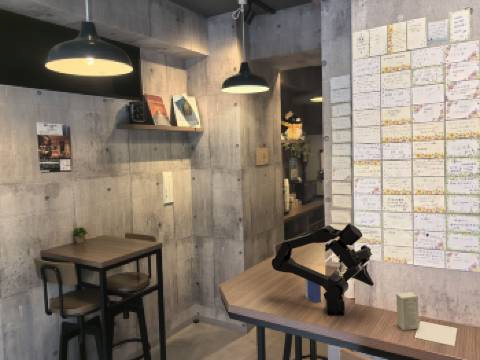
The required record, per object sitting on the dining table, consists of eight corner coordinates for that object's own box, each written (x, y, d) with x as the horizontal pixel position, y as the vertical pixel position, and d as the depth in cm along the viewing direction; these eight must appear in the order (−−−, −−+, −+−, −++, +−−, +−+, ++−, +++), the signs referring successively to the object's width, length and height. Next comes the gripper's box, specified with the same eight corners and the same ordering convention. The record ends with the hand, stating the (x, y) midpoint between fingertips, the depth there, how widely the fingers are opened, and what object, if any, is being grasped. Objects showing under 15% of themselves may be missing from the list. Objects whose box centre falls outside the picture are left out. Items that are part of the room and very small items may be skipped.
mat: (414, 337, 134) (414, 337, 134) (420, 321, 146) (420, 321, 146) (454, 346, 128) (454, 345, 128) (457, 328, 139) (457, 328, 139)
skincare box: (413, 323, 144) (412, 291, 143) (419, 329, 139) (418, 296, 138) (396, 324, 144) (395, 292, 143) (402, 330, 139) (401, 297, 138)
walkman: (321, 301, 167) (320, 274, 166) (315, 303, 166) (315, 275, 164) (310, 295, 174) (309, 269, 173) (305, 296, 173) (304, 270, 172)
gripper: (351, 245, 140) (383, 280, 136) (364, 234, 156) (393, 265, 151) (330, 264, 145) (360, 298, 140) (345, 251, 161) (372, 282, 156)
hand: (372, 285), depth 147 cm, fingers closed
